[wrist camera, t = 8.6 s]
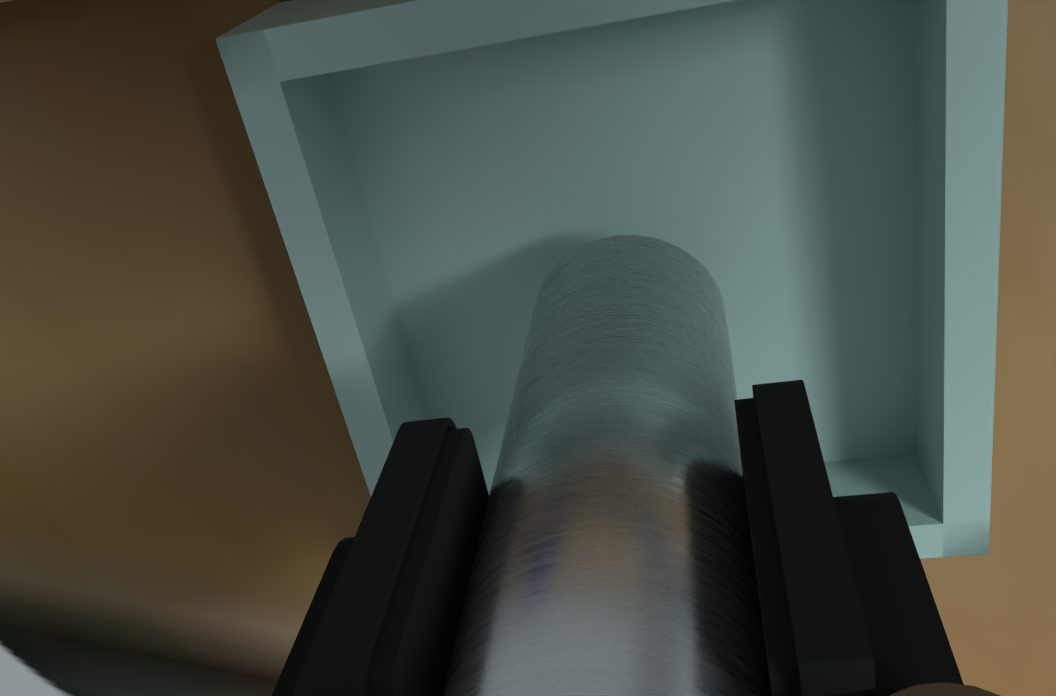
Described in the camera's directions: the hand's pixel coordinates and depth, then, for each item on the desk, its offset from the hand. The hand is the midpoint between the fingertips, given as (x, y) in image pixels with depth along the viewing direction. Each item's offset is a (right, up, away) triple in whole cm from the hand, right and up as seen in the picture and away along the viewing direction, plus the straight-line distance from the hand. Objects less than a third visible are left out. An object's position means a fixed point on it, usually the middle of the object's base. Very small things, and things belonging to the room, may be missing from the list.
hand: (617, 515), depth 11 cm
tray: (+1, +4, +6) cm, 7 cm away
